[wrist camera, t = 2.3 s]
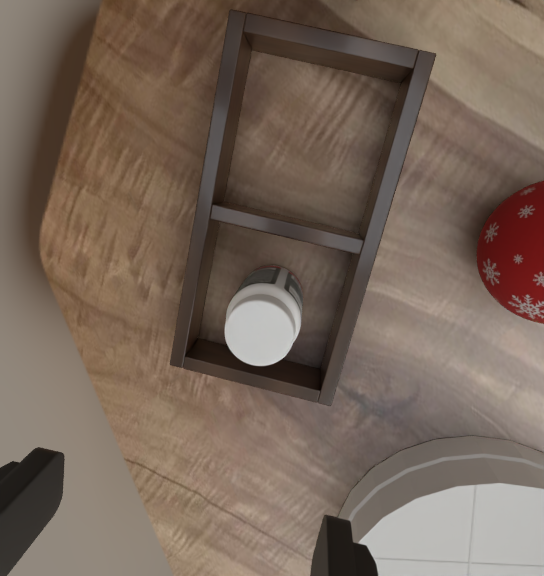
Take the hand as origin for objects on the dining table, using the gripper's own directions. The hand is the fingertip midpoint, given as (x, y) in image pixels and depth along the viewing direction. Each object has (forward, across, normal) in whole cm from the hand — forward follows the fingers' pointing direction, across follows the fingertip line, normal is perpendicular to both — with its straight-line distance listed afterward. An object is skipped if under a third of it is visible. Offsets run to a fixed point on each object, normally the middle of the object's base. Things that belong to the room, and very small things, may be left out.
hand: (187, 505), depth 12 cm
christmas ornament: (+20, -17, -8) cm, 27 cm away
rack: (+20, -1, -7) cm, 21 cm away
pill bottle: (+20, 0, -1) cm, 20 cm away
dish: (+20, -21, +18) cm, 34 cm away
